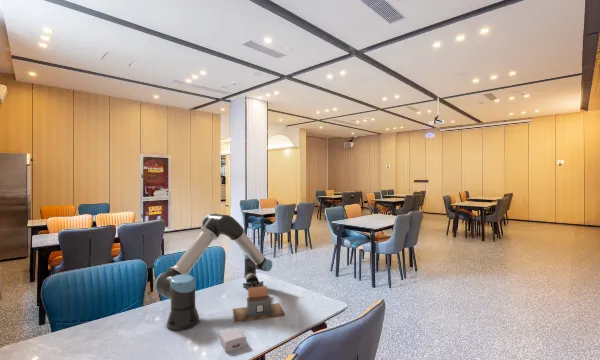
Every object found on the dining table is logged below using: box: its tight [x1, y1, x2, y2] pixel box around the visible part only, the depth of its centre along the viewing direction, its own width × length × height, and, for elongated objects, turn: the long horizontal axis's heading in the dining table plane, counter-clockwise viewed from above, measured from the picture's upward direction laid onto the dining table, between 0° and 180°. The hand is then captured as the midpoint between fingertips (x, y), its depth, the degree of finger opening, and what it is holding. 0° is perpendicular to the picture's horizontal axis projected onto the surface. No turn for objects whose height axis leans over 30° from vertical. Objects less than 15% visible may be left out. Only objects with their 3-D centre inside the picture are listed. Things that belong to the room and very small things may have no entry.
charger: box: [219, 328, 247, 352], centre depth 138 cm, size 5×9×15 cm
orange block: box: [247, 285, 268, 312], centre depth 164 cm, size 10×9×12 cm
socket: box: [246, 295, 272, 318], centre depth 163 cm, size 12×6×8 cm, turn 106°
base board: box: [232, 302, 285, 324], centre depth 166 cm, size 26×14×2 cm, turn 106°
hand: (256, 293), depth 176 cm, fingers closed
